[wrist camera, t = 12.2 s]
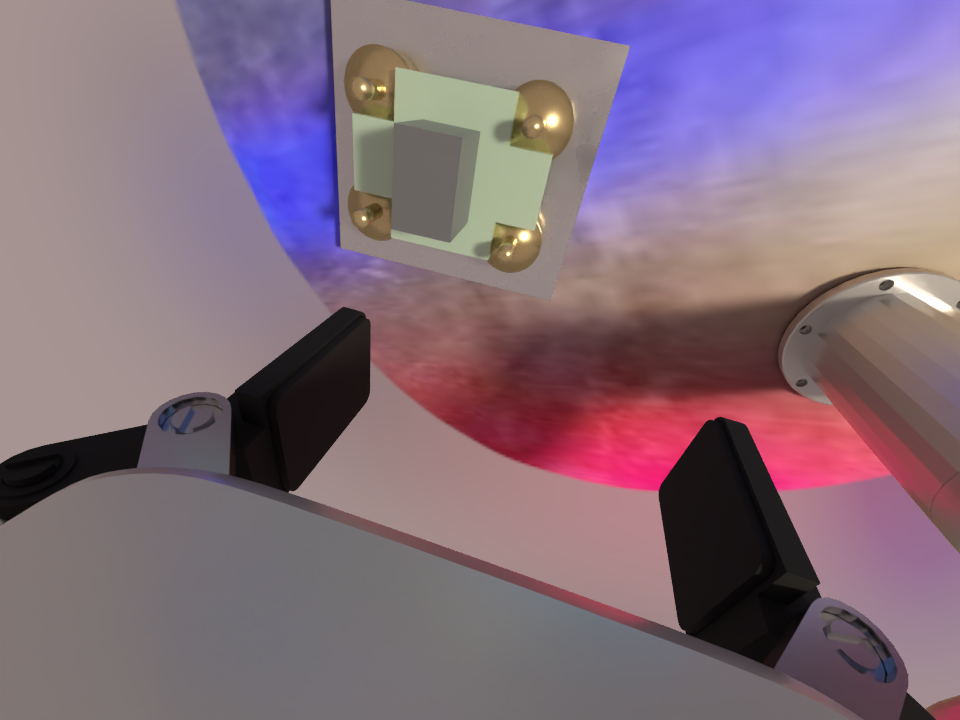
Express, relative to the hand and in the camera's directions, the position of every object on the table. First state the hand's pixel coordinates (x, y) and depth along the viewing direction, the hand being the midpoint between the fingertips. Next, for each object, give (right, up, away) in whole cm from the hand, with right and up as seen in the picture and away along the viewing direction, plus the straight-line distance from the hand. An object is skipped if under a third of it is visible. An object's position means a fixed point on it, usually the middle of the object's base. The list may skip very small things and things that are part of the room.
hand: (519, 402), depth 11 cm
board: (-3, +15, +17) cm, 23 cm away
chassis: (-3, +17, +20) cm, 27 cm away
